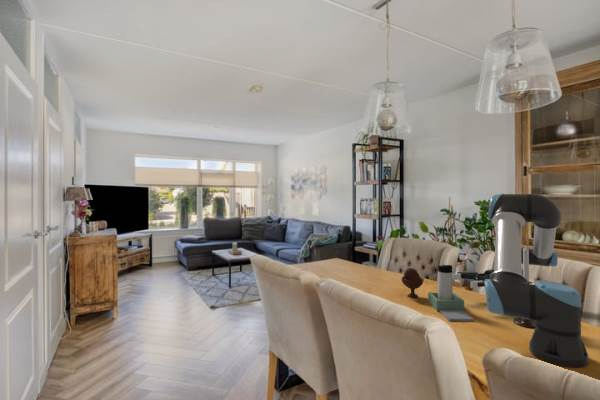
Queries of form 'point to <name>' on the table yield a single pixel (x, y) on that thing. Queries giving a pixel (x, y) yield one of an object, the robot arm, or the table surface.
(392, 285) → the table surface
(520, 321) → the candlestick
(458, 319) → the slate tile
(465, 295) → the table surface
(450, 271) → the travel mug
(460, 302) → the green frame
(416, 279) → the ice cream bowl
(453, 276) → the robot arm
